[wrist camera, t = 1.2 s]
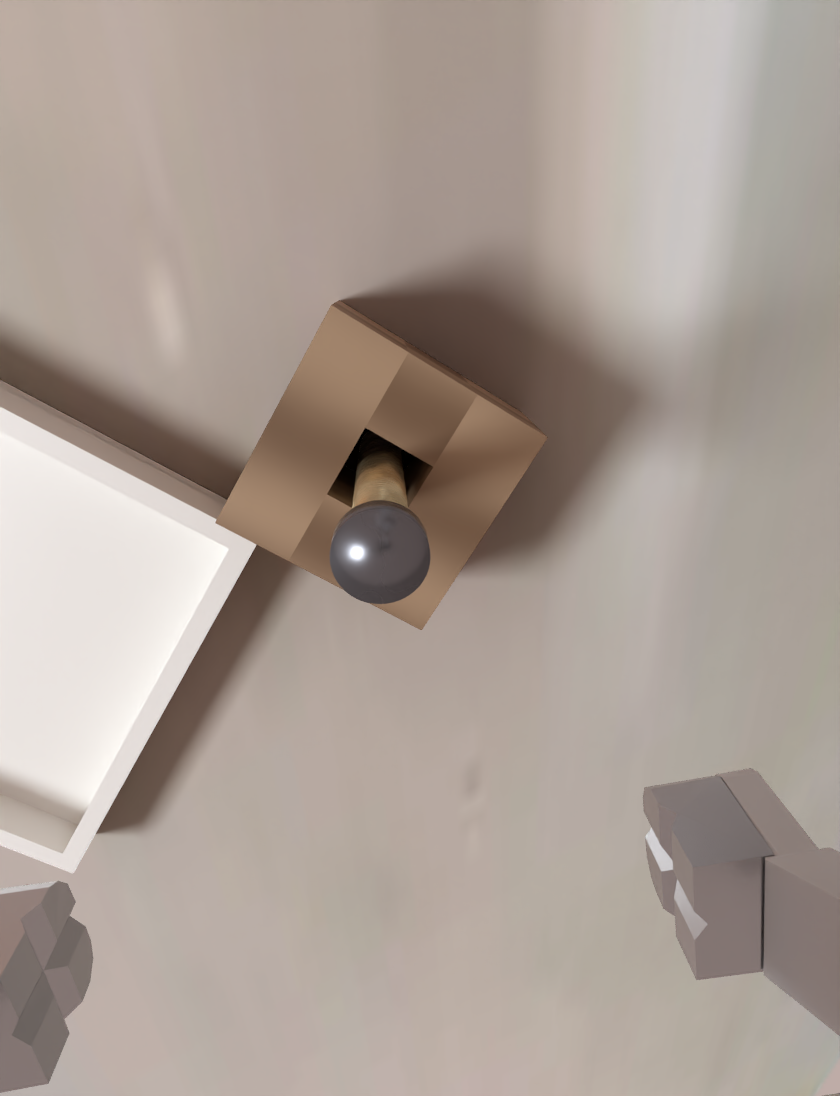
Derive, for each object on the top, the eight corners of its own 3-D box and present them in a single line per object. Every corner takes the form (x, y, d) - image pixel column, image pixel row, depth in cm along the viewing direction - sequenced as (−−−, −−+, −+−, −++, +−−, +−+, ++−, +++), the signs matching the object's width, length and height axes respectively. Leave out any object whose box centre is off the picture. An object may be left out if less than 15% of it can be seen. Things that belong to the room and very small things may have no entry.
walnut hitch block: (339, 300, 34) (331, 304, 28) (521, 412, 36) (547, 437, 30) (240, 485, 37) (215, 522, 31) (415, 578, 39) (421, 630, 33)
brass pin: (368, 406, 36) (361, 491, 21) (422, 437, 36) (449, 540, 22) (337, 459, 36) (311, 575, 22) (390, 489, 37) (398, 620, 23)
